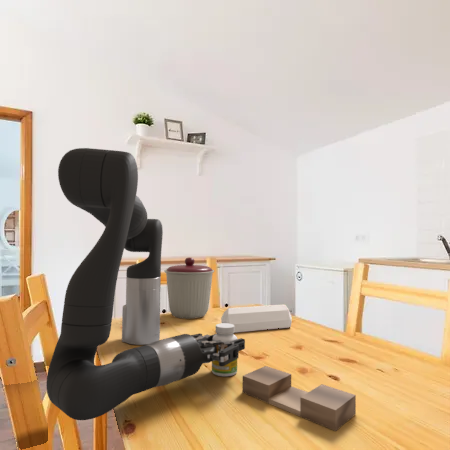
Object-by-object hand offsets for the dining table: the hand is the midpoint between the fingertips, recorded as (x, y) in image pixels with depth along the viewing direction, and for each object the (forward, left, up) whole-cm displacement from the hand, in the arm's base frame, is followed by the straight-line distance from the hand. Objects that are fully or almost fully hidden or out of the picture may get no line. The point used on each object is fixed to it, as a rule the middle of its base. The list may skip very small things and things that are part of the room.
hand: (232, 340), depth 75 cm
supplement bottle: (-1, -2, -6) cm, 7 cm away
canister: (-26, +46, -6) cm, 53 cm away
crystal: (0, +35, -7) cm, 36 cm away
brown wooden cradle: (+14, -12, -6) cm, 19 cm away
